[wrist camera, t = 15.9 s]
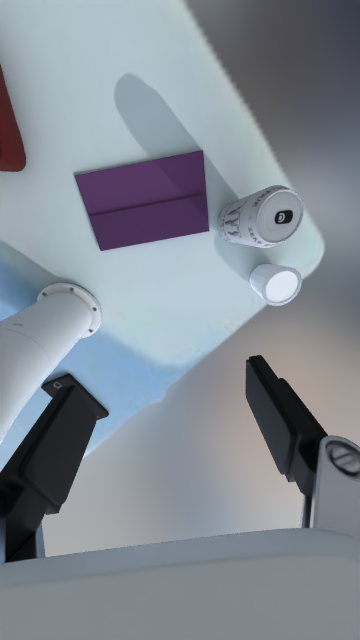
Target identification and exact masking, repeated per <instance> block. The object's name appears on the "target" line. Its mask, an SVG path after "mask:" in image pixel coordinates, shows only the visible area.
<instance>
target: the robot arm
mask: <svg viewBox="0 0 360 640" xmlns="http://www.w3.org/2000/svg"><path fill="white" fill-rule="evenodd" d="M101 320H102V313H101V309H100V306H99V304H98V302H97V301H96V299H95V298H94V297H93V296H92V295H91V294H90V293H89V292H88V291H86V290H85V289H83V288H81V287H79V286H77V285H74V284H70V283H55V284H52V285H50V286H47V287H46V288H44V289H43V290H42V291H41V292H40V293H39V295H38V297H37V301H36V303H34V304H32V305H31V306H29V307H27V308H25V309H23V310H21V311H19V312H17V313H16V314H14V315H12V316H10V317H8V318H6V319H4V320H3V321H1V322H0V444H1V442H2V441H3V439H4V437H5V435H6V434H7V432H8V430H9V428H10V427H11V425H12V423H13V422H14V420H15V418H16V417H17V415H18V414H19V412H20V411H21V409H22V408H23V407H24V405H25V404H26V403H27V401H28V400H29V399H30V397H31V396H32V395H33V394H34V392H35V391H36V390H37V389H38V387H39V386H40V385H41V384H42V383H43V381H44V380H45V379H46V378H47V377H48V376H49V374H50V373H51V372H52V371H53V370H54V369H55V367H56V366H57V365H58V364H59V363H60V361H61V360H62V359H63V358H64V357H65V355H66V354H67V353H68V352H69V351H70V350H71V348H72V347H73V346H74V345H75V344H76V342H77V341H78V340H79V339H80V338H85V337H88V336H90V335H92V334H93V333H94V332H95V331H96V330H97V329H98V327H99V326H100V324H101ZM246 398H247V401H248V403H249V406H250V408H251V410H252V412H253V414H254V417H255V419H256V421H257V423H258V426H259V428H260V430H261V432H262V434H263V436H264V439H265V441H266V443H267V446H268V448H269V450H270V452H271V455H272V457H273V459H274V461H275V463H276V466H277V468H278V470H279V472H280V473H281V474H282V475H283V474H285V476H286V478H287V480H288V482H295V481H296V483H297V485H298V487H299V489H300V491H301V493H303V494H304V496H303V504H302V512H301V520H300V528H292V529H276V530H265V531H255V532H245V533H235V534H227V535H219V536H210V537H202V538H194V539H186V540H177V541H169V542H161V543H153V544H146V545H137V546H129V547H121V548H113V549H105V550H97V551H90V552H83V553H74V554H67V555H60V556H52V557H45V549H44V541H43V531H42V523H41V521H42V519H43V517H44V514H46V515H49V514H56V513H59V510H60V508H61V505H62V504H63V503H64V502H65V501H66V499H67V496H68V494H69V491H70V488H71V486H72V484H73V481H74V478H75V476H76V473H77V471H78V468H79V466H80V463H81V460H82V458H83V455H84V453H85V450H86V447H87V445H88V442H89V440H90V437H91V435H92V432H93V429H94V427H95V424H96V416H95V414H94V412H93V411H92V409H91V408H90V406H89V404H88V403H87V401H86V399H85V398H84V396H83V394H82V393H81V391H80V390H79V388H78V387H76V386H75V385H67V386H62V387H61V388H60V389H59V390H58V391H57V393H56V394H55V396H54V397H53V398H52V400H51V401H50V403H49V404H48V406H47V407H46V408H45V410H44V411H43V413H42V414H41V416H40V417H39V418H38V420H37V421H36V423H35V424H34V425H33V427H32V428H31V430H30V431H29V433H28V434H27V435H26V437H25V438H24V440H23V441H22V443H21V444H20V445H19V447H18V448H17V450H16V451H15V452H14V454H13V455H12V457H11V458H10V460H9V461H8V462H7V464H6V465H5V467H4V468H3V469H2V471H1V472H0V640H360V447H359V446H358V445H356V444H355V443H353V442H351V441H350V440H348V439H345V438H343V437H339V436H328V434H327V433H326V432H325V431H324V429H323V428H322V427H321V425H320V424H319V423H318V422H317V420H316V419H315V418H314V416H313V415H312V414H311V412H310V411H309V410H308V408H307V407H306V406H305V405H304V403H303V402H302V401H301V399H300V398H299V397H298V395H297V394H296V393H295V392H294V390H293V389H292V388H291V386H290V385H289V384H288V383H287V381H286V380H284V379H283V378H278V377H277V376H276V375H275V373H274V372H273V371H272V369H271V368H270V366H269V365H268V364H267V362H266V361H265V360H264V358H263V357H262V356H261V355H257V356H251V357H249V360H246Z"/></svg>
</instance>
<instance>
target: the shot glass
mask: <svg viewBox="0 0 360 640" xmlns="http://www.w3.org/2000/svg"><path fill="white" fill-rule="evenodd" d="M249 283H250V285H251V287H252V288H253V289H254V290H255V291H256V292H257V293H258V294H259V295H260V297H261V298H262V299H263V300H264V301H265V302H267V303H268V304H270V305H273V306H279V305H284V304H286V303H288V302H290V301H291V300H292V299H293V298H294V297H295V296H296V295H297V294H298V292H299V290H300V288H301V283H302V279H301V275H300V273H299V272H298V271H297V270H296V269H294V268H291V267H286V266H279V265H272V264H261V265H259V266H258V267H256V268H255V269H254V270H253V271H252V273H251V275H250V279H249Z"/></svg>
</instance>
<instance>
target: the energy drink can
mask: <svg viewBox="0 0 360 640" xmlns="http://www.w3.org/2000/svg"><path fill="white" fill-rule="evenodd" d="M302 217H303V203H302V199H301V198H300V196H299V195H298V194H297V193H296V192H295V191H293V190H290V189H289V188H287V187H285V186H281V185H275V186H270V187H268V188H265V189H263V190H261V191H259V192H256V193H254V194H252V195H249V196H247V197H245V198H243V199H240V200H238V201H236V202H234V203H231V204H229V205H228V206H226V207H225V208H224V209H223V211H222V212H221V214H220V216H219V220H218V230H219V233H220V235H221V236H222V237H223V238H224V239H225V240H227V241H230V242H235V243H240V244H245V245H251V246H256V247H261V248H269V247H273V246H275V245H278V244H279V243H281V242H282V241H285V240H286V239H288V238H289V237H290V236H291V235H293V233H294V232H295V231H296V230H297V228H298V227H299V225H300V223H301V220H302Z"/></svg>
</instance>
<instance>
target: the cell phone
mask: <svg viewBox="0 0 360 640" xmlns="http://www.w3.org/2000/svg"><path fill="white" fill-rule="evenodd" d="M67 385H75V386H76V387H78V388H79V390H80V391H81V393H82V394H83V396H84V398H85V399H86V401H87V403H88V404H89V406H90V408H91V409H92V411H93V412H94V414H95V416H96V420H99V419H102V418H105V417H107V416H108V415H109V413H108V412H107V411H106V410H105V409H104V408H103V407H102V406H101V405H100V404H99V403H98V402H97V401H96V400H95V399H94V398H93V397H92V396H91V395H90V394H89V393H88V392H87V391H86V390H85V389H84V388H83V387H82V386H81V385H80V384H79V383H78V382H77V381H76V380H75V379H74V378H73V377H72V376H71V375H70V374H67V375H64V376H62V377H59V378H57V379H55V380H52V381H50V382H47V383H45V384H43V385H42V386H41V388H42V389H43V390H44V391H45V392H47V393H48V394H49V395H50V396H51V397H52V398H53V397H54V396H55V394H56V393H57V391H58V390H59V389H60V388H61V387H62V386H67Z"/></svg>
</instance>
